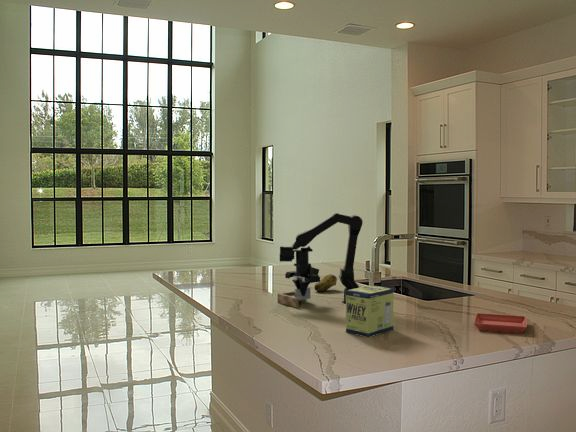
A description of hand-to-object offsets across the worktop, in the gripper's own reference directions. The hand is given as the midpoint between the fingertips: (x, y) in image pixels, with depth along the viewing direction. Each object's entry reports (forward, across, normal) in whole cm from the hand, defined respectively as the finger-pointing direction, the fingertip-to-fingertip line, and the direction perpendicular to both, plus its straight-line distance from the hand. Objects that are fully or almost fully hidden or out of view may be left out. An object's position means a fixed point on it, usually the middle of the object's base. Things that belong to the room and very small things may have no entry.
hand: (302, 295), depth 261 cm
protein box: (+4, -54, +11) cm, 55 cm away
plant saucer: (+4, -80, -31) cm, 86 cm away
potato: (+4, +17, -28) cm, 33 cm away
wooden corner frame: (+4, +2, 0) cm, 4 cm away
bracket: (+2, +2, 0) cm, 3 cm away
